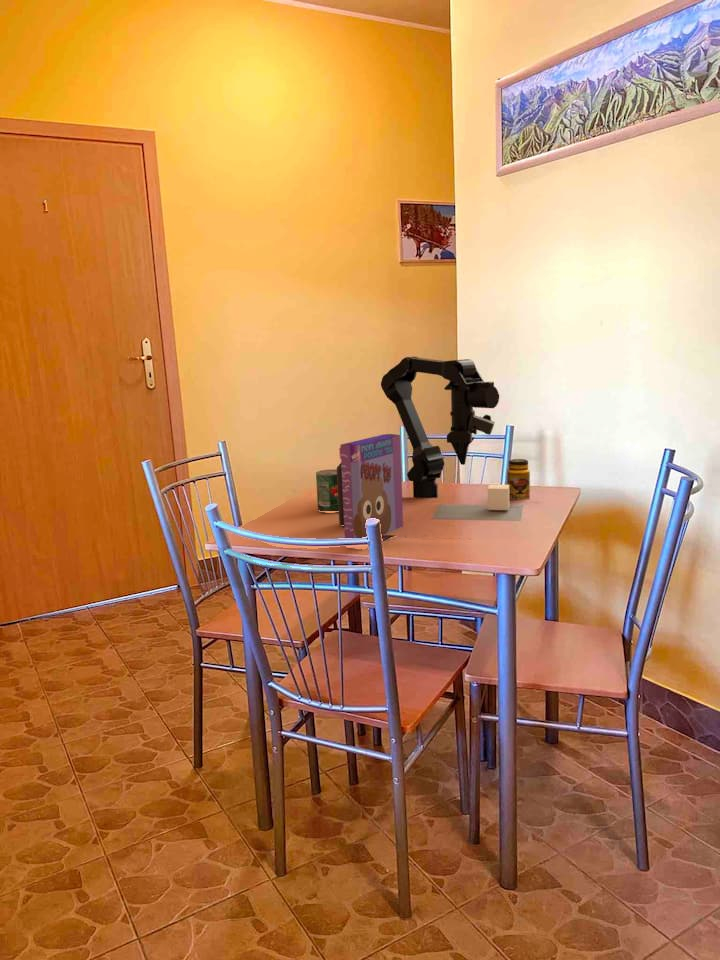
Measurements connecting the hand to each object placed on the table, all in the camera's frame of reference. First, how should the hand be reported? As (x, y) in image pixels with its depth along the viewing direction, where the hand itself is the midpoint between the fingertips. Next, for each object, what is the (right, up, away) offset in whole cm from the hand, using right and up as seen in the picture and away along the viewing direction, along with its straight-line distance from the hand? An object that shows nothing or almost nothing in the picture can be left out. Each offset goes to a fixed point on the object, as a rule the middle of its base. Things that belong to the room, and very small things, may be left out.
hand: (462, 464), depth 193 cm
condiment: (+16, -11, +6) cm, 20 cm away
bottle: (-30, -16, -11) cm, 36 cm away
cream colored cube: (+8, -11, -8) cm, 16 cm away
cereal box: (-24, -19, -26) cm, 40 cm away
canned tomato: (-36, -13, +6) cm, 38 cm away
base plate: (+3, -14, -9) cm, 17 cm away
